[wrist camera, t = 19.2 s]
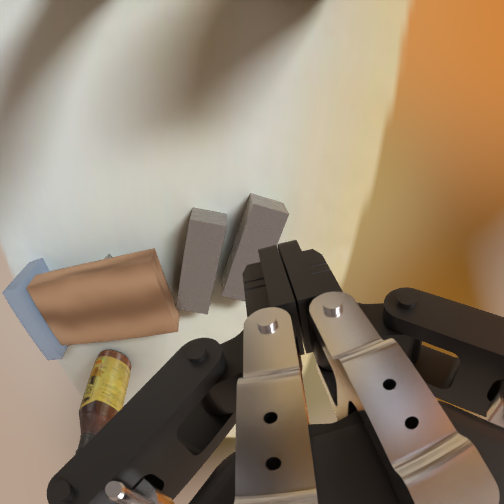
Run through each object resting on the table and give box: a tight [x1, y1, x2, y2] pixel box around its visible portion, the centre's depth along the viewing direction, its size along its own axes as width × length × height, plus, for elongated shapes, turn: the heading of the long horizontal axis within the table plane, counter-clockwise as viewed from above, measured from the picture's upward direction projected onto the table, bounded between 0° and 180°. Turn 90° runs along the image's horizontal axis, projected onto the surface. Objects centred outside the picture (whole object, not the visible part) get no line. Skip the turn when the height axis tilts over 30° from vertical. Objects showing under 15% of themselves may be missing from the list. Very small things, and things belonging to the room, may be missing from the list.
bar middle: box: [176, 208, 227, 314], centre depth 37 cm, size 12×4×4 cm, turn 167°
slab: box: [26, 248, 180, 345], centre depth 35 cm, size 10×18×3 cm, turn 100°
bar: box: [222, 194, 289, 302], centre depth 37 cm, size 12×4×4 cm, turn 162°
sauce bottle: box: [75, 350, 131, 455], centre depth 37 cm, size 6×6×20 cm
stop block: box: [3, 258, 68, 360], centre depth 36 cm, size 12×3×8 cm, turn 14°
